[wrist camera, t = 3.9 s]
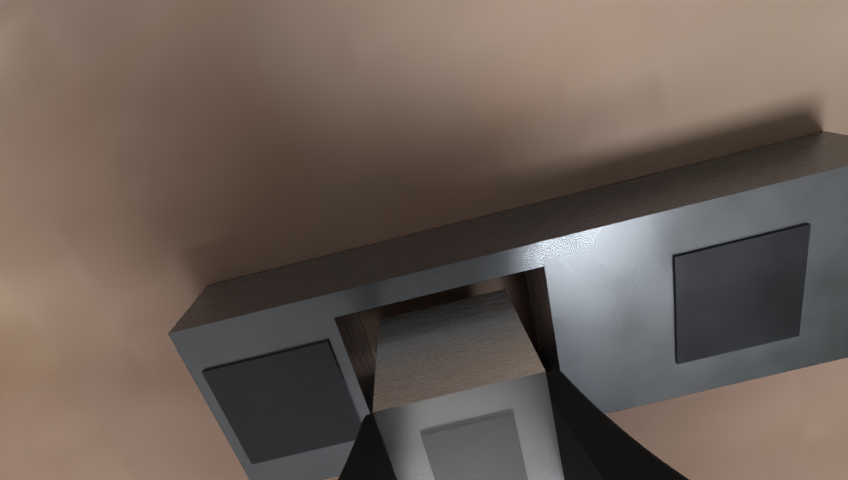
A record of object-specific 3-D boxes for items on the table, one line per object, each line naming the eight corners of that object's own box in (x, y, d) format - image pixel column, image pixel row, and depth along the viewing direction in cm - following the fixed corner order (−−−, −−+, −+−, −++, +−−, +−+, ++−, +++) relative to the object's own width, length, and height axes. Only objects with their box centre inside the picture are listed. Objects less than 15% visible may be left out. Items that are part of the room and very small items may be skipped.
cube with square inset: (525, 390, 15) (568, 499, 11) (411, 417, 15) (415, 534, 11) (505, 288, 14) (546, 374, 10) (379, 319, 14) (372, 415, 10)
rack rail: (805, 304, 18) (884, 351, 15) (278, 429, 19) (257, 497, 16) (824, 131, 15) (924, 148, 12) (207, 285, 16) (166, 335, 13)
